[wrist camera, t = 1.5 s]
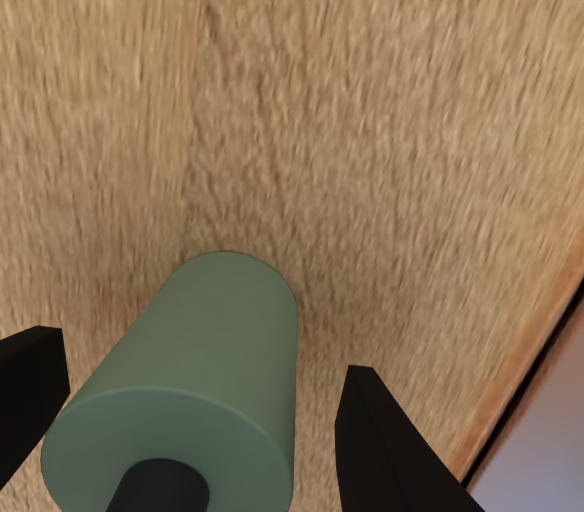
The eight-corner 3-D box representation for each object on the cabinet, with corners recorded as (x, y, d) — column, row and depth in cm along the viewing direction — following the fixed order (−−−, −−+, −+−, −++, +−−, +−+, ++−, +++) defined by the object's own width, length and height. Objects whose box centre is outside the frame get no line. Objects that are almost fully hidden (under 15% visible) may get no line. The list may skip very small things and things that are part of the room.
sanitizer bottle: (288, 376, 13) (271, 682, 6) (162, 360, 13) (-5, 654, 6) (306, 261, 11) (314, 502, 4) (161, 241, 11) (-76, 457, 4)
